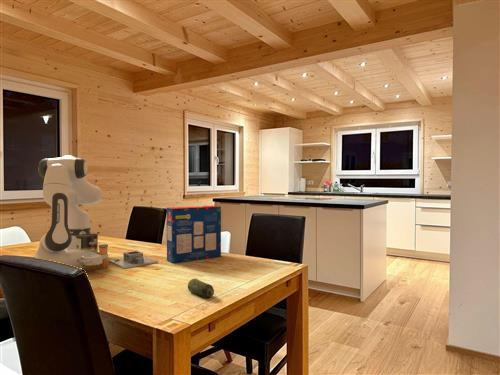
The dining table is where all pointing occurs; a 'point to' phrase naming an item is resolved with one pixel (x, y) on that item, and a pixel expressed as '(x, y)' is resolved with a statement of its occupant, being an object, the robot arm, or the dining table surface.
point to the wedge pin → (102, 251)
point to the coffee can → (87, 242)
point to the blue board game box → (193, 233)
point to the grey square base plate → (132, 260)
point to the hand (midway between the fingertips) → (105, 254)
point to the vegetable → (201, 288)
